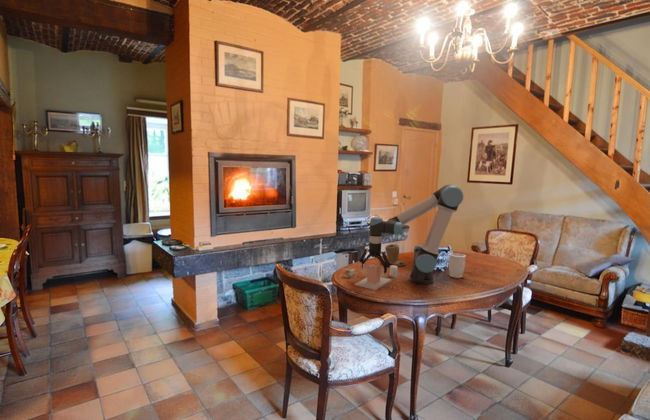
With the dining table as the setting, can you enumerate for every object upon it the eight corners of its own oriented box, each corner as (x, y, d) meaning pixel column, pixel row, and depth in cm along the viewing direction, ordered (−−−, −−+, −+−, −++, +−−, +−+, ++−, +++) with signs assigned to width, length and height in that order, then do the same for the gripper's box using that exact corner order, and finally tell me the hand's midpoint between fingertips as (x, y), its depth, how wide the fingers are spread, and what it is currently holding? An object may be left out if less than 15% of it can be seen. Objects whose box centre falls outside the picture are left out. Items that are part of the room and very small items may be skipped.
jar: (464, 275, 250) (466, 254, 248) (463, 279, 241) (465, 257, 239) (448, 273, 254) (450, 252, 252) (446, 276, 245) (448, 255, 243)
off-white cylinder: (398, 276, 243) (398, 266, 242) (395, 278, 239) (395, 267, 238) (391, 274, 246) (391, 264, 245) (388, 276, 242) (388, 266, 241)
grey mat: (391, 281, 233) (391, 279, 232) (375, 290, 215) (375, 288, 215) (371, 276, 241) (371, 275, 240) (354, 285, 223) (354, 283, 222)
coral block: (380, 281, 228) (380, 265, 227) (375, 283, 223) (376, 267, 222) (371, 279, 232) (372, 264, 230) (367, 281, 227) (367, 266, 225)
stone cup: (381, 263, 275) (382, 243, 273) (392, 261, 282) (393, 242, 280) (395, 268, 263) (396, 247, 261) (407, 266, 269) (408, 246, 267)
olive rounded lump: (354, 276, 239) (355, 269, 239) (350, 278, 235) (351, 271, 235) (348, 275, 242) (348, 268, 241) (344, 277, 238) (344, 269, 237)
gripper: (396, 244, 220) (394, 278, 223) (360, 238, 234) (359, 270, 237) (391, 246, 214) (389, 281, 217) (354, 240, 228) (353, 273, 231)
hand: (373, 275), depth 227 cm, fingers open, 13 cm apart
